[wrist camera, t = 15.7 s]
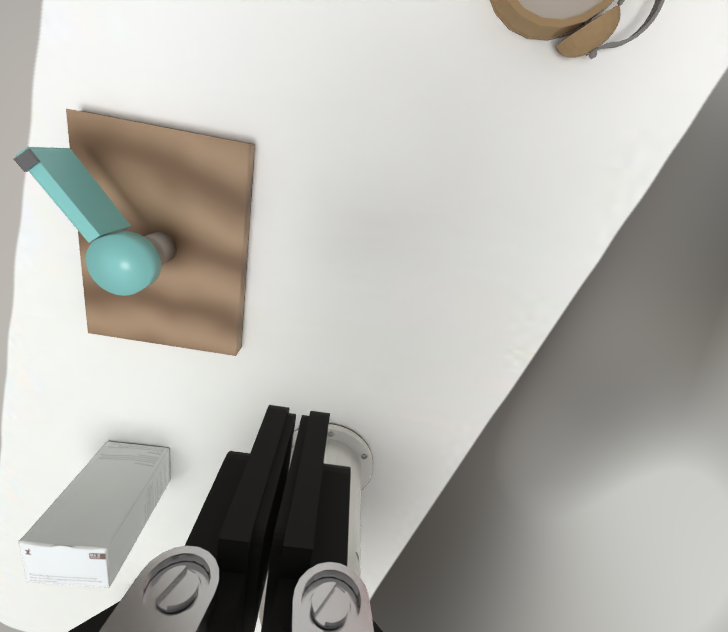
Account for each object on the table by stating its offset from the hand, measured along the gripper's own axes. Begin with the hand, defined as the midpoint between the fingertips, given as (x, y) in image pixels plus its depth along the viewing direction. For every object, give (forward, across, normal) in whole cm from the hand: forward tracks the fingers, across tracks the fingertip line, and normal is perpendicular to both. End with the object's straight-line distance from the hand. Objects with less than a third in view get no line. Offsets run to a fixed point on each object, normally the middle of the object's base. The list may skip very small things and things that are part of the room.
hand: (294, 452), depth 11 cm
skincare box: (+32, +22, +34) cm, 52 cm away
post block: (+32, +18, +4) cm, 37 cm away
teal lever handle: (+27, +20, +1) cm, 34 cm away
